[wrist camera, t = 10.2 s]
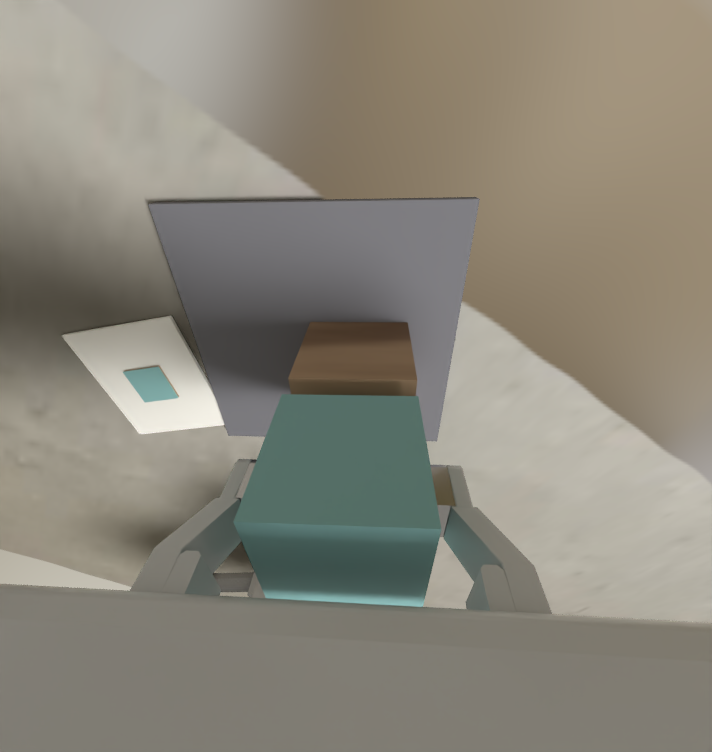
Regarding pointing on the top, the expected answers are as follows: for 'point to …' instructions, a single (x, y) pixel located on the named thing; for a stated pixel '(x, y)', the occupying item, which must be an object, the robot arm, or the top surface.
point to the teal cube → (342, 502)
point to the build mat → (314, 287)
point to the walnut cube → (355, 360)
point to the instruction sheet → (149, 374)
